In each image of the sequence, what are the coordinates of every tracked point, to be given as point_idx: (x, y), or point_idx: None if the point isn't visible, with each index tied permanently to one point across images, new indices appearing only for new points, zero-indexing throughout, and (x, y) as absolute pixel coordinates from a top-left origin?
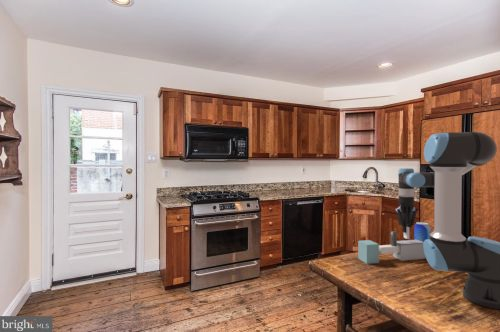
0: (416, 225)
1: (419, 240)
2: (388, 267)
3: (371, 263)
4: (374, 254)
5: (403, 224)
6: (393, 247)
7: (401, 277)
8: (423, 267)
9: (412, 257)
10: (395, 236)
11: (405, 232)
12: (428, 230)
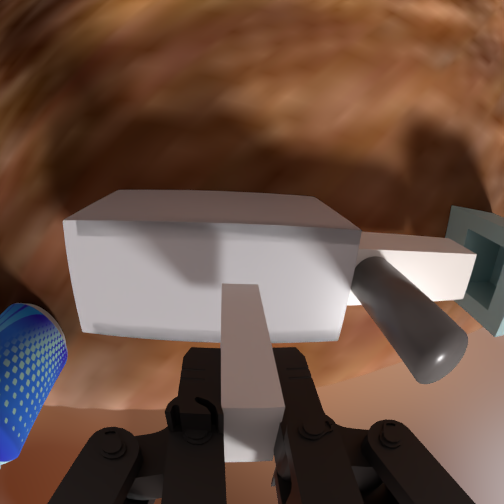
0: (5, 451)
1: (35, 359)
2: (454, 135)
3: (478, 210)
4: (500, 221)
5: (389, 446)
6: (395, 248)
7: (468, 32)
8: (272, 52)
9: (223, 193)
10: (426, 301)
11: (281, 349)
12: None
